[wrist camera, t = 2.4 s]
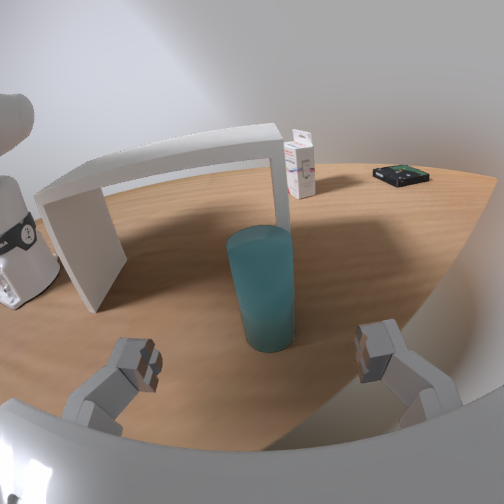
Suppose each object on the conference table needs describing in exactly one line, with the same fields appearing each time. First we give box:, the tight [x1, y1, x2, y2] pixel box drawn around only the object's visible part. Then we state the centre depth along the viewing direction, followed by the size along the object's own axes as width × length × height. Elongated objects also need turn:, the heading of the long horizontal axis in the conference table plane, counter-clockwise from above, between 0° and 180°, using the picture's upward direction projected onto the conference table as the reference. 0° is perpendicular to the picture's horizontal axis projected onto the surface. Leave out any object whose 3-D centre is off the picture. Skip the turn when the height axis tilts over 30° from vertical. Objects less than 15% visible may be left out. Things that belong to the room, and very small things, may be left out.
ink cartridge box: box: [284, 129, 316, 199], centre depth 59 cm, size 9×5×15 cm, turn 23°
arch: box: [34, 123, 291, 313], centre depth 34 cm, size 30×14×20 cm, turn 89°
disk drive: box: [373, 165, 429, 188], centre depth 66 cm, size 10×3×15 cm
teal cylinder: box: [226, 225, 296, 353], centre depth 26 cm, size 6×6×12 cm
